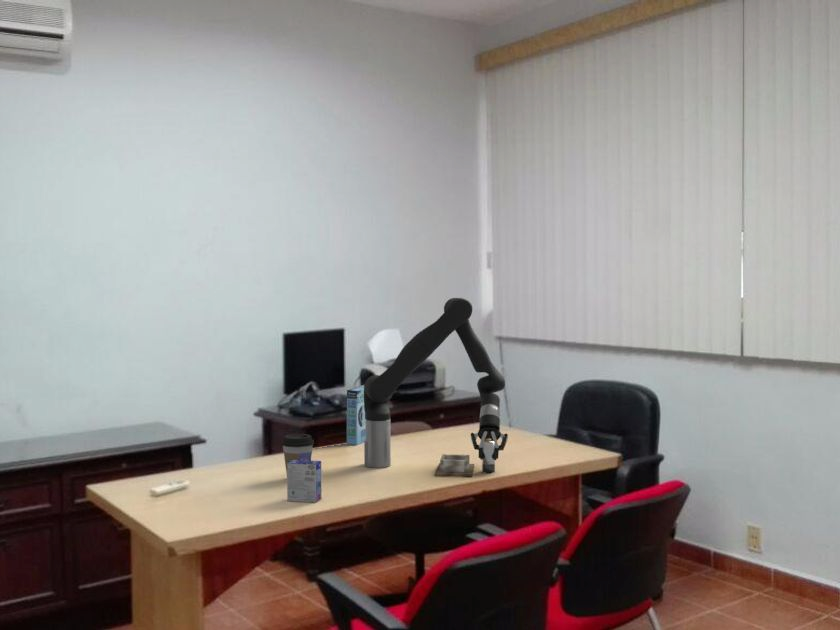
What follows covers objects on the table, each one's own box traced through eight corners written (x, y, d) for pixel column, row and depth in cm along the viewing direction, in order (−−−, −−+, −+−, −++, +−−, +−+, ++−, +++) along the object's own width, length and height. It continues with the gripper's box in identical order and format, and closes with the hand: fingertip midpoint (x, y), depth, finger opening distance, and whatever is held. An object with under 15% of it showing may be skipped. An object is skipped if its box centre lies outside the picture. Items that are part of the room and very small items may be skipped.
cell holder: (434, 476, 301) (434, 461, 301) (439, 465, 317) (439, 452, 317) (471, 477, 300) (471, 462, 300) (474, 466, 316) (474, 453, 316)
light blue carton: (364, 436, 374) (364, 384, 373) (375, 436, 373) (374, 384, 372) (346, 444, 356) (345, 389, 355) (357, 445, 354) (357, 390, 353)
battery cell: (482, 472, 306) (482, 440, 306) (482, 470, 311) (482, 437, 310) (494, 473, 306) (494, 440, 305) (495, 470, 310) (495, 437, 310)
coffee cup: (305, 484, 290) (304, 440, 289) (275, 481, 294) (274, 438, 293) (320, 476, 300) (320, 434, 300) (291, 474, 304) (291, 432, 303)
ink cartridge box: (322, 498, 272) (322, 453, 271) (316, 503, 266) (316, 456, 266) (292, 496, 274) (292, 451, 273) (286, 501, 268) (286, 455, 268)
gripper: (470, 413, 315) (467, 452, 304) (509, 413, 314) (508, 453, 302) (470, 424, 321) (468, 464, 310) (509, 425, 319) (508, 465, 308)
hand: (488, 458), depth 306 cm, fingers closed on battery cell, 4 cm apart
